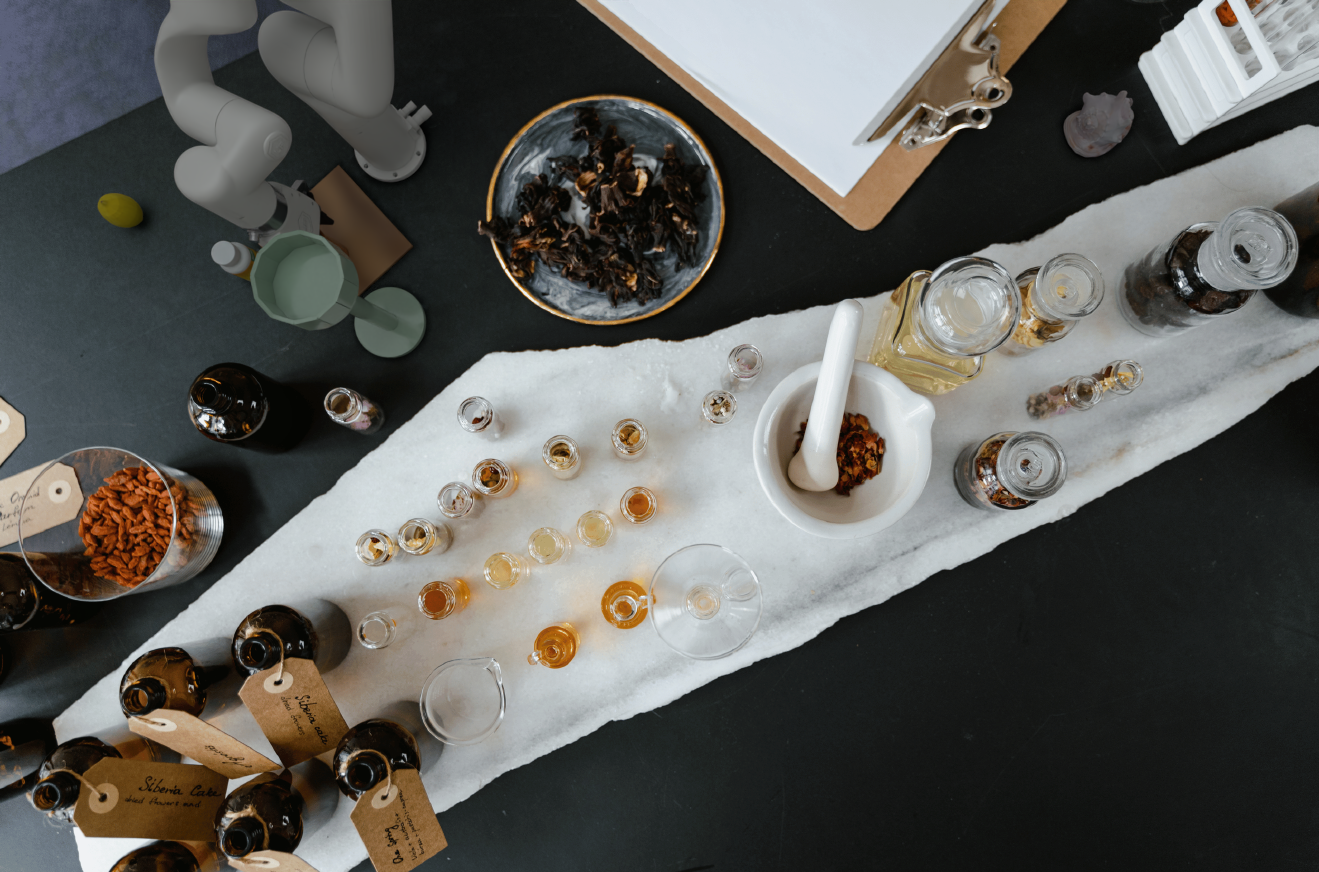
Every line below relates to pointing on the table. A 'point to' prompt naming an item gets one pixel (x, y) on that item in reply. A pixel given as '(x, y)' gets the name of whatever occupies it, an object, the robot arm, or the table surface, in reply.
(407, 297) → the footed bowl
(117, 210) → the fruit
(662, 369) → the table surface
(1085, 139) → the seashell
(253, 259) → the supplement bottle
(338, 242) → the amber bottle
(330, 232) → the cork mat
